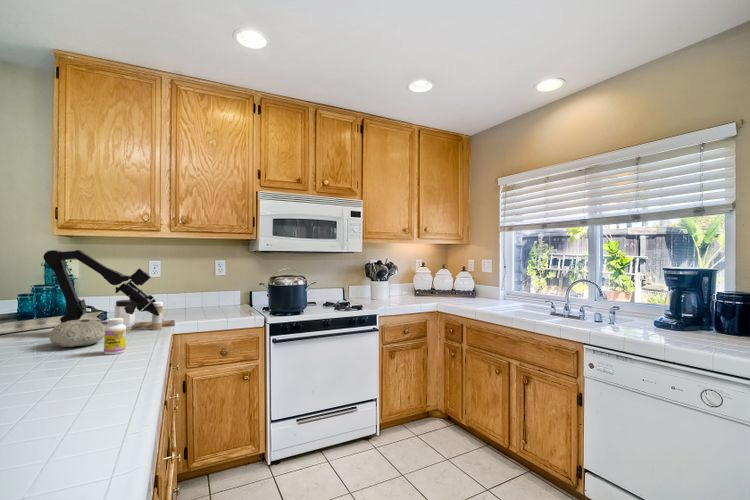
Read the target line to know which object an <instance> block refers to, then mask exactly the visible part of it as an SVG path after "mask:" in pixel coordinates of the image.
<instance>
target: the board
mask: <svg viewBox="0 0 750 500" xmlns="http://www.w3.org/2000/svg"><path fill="white" fill-rule="evenodd" d="M175 326H176V322H175V320H173V319H172V320H170V319H169V320H162V328H163V327H175ZM132 329H133V330H136V329H152V321H141V322H140V321H139V322H138V321H137V322H134V323H133V327H132Z"/></svg>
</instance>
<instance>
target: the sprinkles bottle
mask: <svg viewBox="0 0 750 500" xmlns="http://www.w3.org/2000/svg"><path fill="white" fill-rule="evenodd" d="M153 304H154V305H155V307H156V309H157V311H158V313H159V316H156V315H154V314H152V313H151V315H152V316H151V317H152V318H151V322H152V328H151V330H153V331H157V330H158V331H159V330H162V329H163V327H162V321H163V307H164V302H162V301H156V302H153Z"/></svg>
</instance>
